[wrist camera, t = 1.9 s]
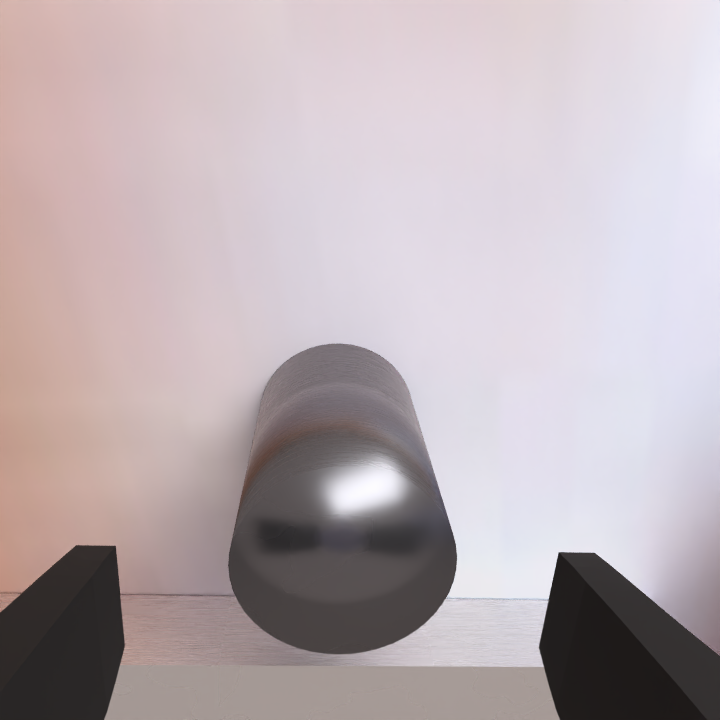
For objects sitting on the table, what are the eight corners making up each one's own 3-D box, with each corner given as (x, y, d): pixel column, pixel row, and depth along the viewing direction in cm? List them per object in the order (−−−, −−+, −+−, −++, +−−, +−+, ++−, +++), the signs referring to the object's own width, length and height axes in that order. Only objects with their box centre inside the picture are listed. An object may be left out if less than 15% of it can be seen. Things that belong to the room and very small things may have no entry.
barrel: (419, 347, 16) (470, 471, 11) (405, 482, 18) (444, 654, 12) (260, 340, 16) (227, 465, 10) (259, 478, 17) (229, 653, 12)
